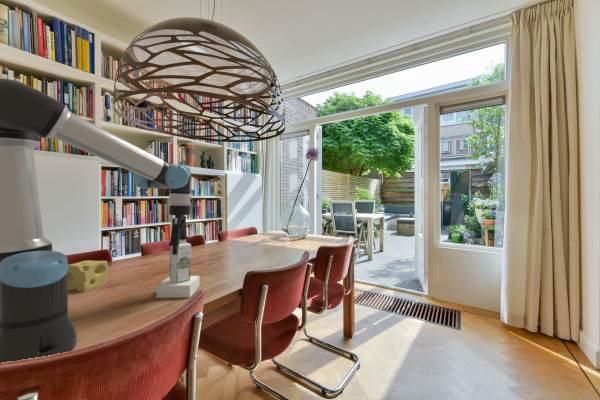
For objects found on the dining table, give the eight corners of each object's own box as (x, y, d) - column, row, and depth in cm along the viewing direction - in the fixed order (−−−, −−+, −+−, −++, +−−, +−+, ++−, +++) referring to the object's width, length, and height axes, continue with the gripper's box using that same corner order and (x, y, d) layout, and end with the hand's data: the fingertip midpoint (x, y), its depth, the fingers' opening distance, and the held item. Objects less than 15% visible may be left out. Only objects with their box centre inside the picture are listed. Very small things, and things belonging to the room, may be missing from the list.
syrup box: (183, 277, 110) (184, 241, 110) (190, 280, 106) (191, 243, 106) (169, 280, 105) (170, 243, 105) (176, 283, 102) (177, 245, 101)
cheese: (84, 292, 104) (84, 266, 104) (62, 290, 106) (62, 265, 106) (108, 284, 114) (108, 260, 114) (87, 282, 116) (87, 259, 116)
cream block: (189, 298, 100) (189, 285, 100) (156, 299, 99) (156, 285, 99) (199, 287, 112) (199, 275, 112) (169, 288, 111) (169, 276, 111)
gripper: (184, 205, 94) (183, 266, 94) (194, 204, 118) (193, 252, 118) (161, 205, 92) (159, 267, 92) (176, 204, 117) (175, 253, 117)
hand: (178, 259), depth 105 cm, fingers open, 13 cm apart
